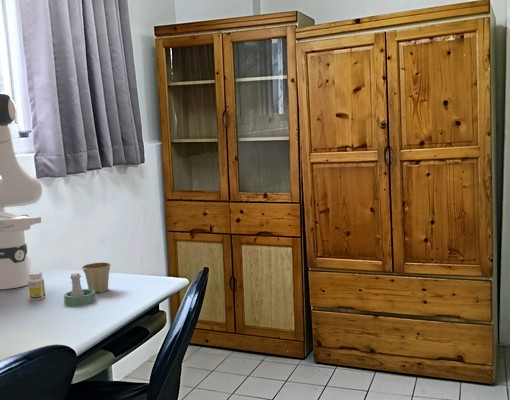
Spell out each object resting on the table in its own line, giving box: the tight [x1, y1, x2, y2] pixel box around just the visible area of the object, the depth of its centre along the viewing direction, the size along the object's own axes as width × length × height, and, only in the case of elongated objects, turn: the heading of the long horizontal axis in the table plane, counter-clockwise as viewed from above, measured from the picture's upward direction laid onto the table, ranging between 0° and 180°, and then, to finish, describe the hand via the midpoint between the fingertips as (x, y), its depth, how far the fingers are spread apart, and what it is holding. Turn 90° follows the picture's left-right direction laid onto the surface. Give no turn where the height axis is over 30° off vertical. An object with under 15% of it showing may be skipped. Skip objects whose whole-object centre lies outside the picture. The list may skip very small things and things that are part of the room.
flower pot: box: [81, 261, 112, 294], centre depth 197 cm, size 9×9×9 cm
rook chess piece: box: [70, 272, 85, 296], centre depth 186 cm, size 4×4×8 cm
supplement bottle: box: [27, 271, 46, 301], centre depth 191 cm, size 5×5×8 cm
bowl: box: [63, 288, 97, 307], centre depth 185 cm, size 9×9×3 cm
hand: (33, 218), depth 174 cm, fingers open, 8 cm apart
